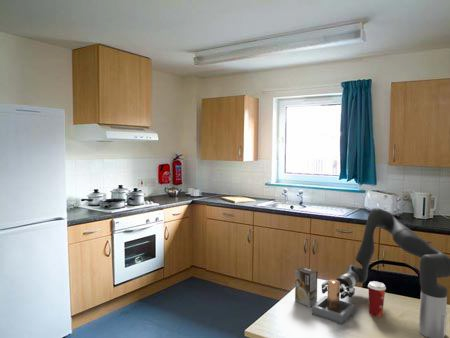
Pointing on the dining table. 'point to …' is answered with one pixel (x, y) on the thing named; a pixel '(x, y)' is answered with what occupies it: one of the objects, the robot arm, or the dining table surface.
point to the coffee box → (306, 286)
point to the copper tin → (333, 295)
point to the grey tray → (340, 318)
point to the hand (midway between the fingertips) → (332, 293)
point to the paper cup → (376, 298)
